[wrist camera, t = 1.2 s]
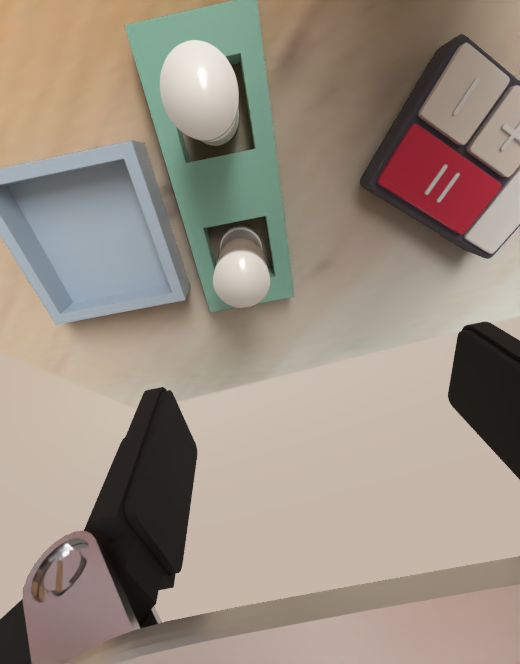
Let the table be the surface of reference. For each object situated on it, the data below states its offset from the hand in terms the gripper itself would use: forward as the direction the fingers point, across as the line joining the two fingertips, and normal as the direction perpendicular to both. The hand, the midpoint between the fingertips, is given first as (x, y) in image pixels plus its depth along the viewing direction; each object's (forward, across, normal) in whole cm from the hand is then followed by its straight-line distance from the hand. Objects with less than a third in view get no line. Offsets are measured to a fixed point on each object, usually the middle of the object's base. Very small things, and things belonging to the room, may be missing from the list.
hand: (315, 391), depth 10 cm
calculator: (+23, -19, -3) cm, 30 cm away
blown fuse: (+23, +2, 0) cm, 23 cm away
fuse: (+23, +2, -11) cm, 25 cm away
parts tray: (+23, +15, -4) cm, 28 cm away
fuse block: (+23, +2, -6) cm, 24 cm away
